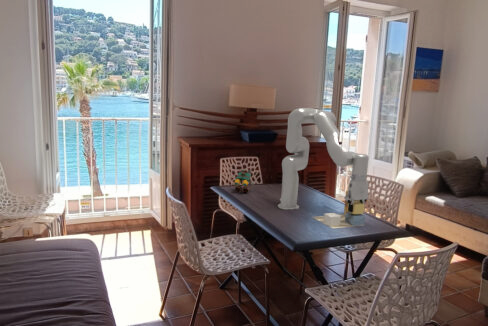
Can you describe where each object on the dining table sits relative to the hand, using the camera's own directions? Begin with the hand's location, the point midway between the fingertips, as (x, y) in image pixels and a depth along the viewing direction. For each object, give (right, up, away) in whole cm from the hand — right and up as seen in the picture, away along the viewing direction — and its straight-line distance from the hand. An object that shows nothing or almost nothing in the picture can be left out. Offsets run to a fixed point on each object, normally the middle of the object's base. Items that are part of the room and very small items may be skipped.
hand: (355, 210), depth 203 cm
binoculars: (-60, +5, +59) cm, 84 cm away
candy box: (+2, -6, +15) cm, 17 cm away
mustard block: (0, -1, 0) cm, 1 cm away
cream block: (-13, -7, -2) cm, 15 cm away
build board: (-8, -7, +4) cm, 12 cm away
